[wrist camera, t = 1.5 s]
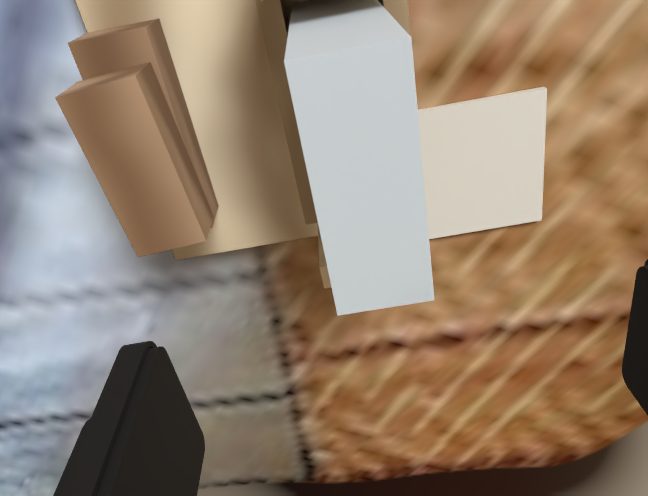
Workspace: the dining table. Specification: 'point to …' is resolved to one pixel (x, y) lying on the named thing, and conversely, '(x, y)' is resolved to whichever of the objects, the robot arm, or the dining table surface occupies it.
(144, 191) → the offcut top
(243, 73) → the rack
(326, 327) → the dining table surface
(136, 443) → the robot arm
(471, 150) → the felt pad
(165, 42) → the block
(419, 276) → the white rectangular block
